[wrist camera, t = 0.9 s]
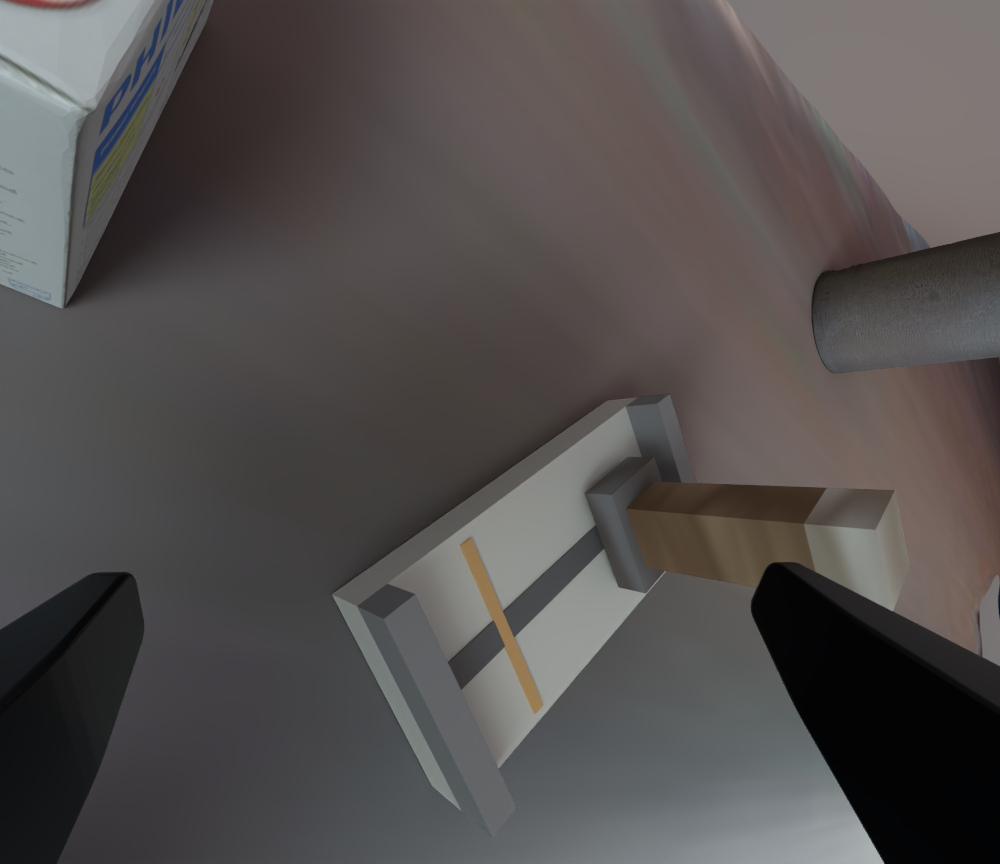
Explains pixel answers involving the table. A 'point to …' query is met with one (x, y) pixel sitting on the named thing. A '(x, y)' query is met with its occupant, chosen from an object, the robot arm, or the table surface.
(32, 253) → the light bulb box
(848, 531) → the fader
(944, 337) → the pillar candle
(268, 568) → the table surface
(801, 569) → the robot arm
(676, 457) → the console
